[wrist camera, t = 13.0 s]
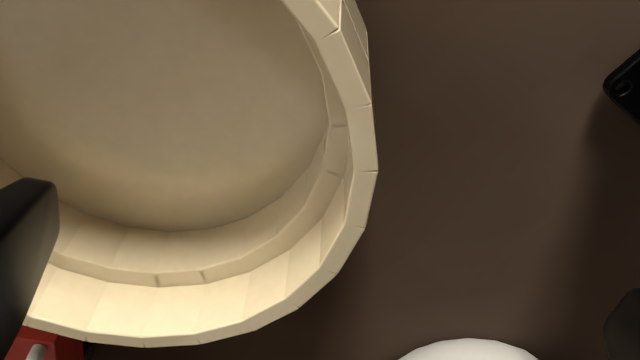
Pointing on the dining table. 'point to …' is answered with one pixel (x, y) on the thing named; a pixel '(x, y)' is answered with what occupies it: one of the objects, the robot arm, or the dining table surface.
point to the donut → (468, 351)
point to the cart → (47, 346)
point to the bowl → (188, 158)
